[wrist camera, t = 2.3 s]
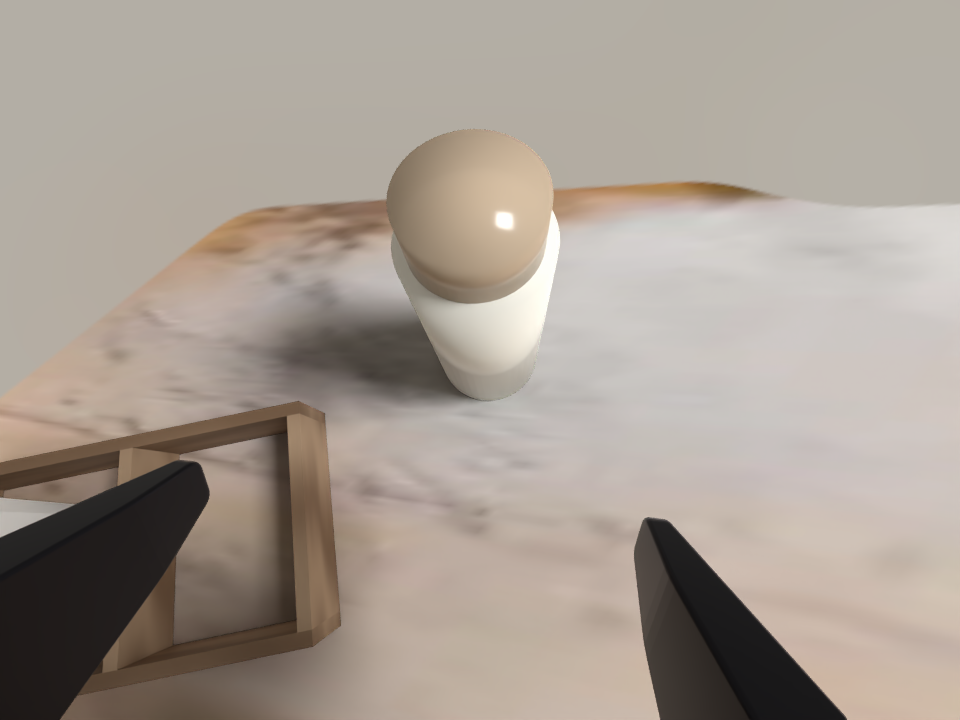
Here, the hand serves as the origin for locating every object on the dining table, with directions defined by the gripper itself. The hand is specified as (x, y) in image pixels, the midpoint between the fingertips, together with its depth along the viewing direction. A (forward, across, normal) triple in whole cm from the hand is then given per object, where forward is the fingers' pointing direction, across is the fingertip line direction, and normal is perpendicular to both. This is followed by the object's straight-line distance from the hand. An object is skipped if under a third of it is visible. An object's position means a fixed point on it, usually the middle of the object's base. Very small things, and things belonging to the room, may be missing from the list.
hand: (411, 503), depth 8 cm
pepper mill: (+15, 0, +4) cm, 15 cm away
